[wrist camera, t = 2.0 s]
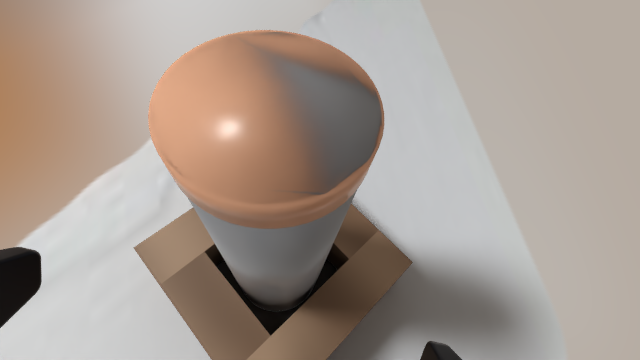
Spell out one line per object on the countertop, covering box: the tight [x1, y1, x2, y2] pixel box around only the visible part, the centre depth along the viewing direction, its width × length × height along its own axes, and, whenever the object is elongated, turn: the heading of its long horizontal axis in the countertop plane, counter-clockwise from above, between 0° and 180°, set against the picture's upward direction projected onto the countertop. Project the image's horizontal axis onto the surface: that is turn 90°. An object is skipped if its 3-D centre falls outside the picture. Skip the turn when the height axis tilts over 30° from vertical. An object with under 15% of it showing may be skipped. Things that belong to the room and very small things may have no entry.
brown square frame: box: [134, 204, 413, 360], centre depth 17 cm, size 10×10×3 cm
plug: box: [148, 30, 384, 312], centre depth 12 cm, size 5×5×14 cm
